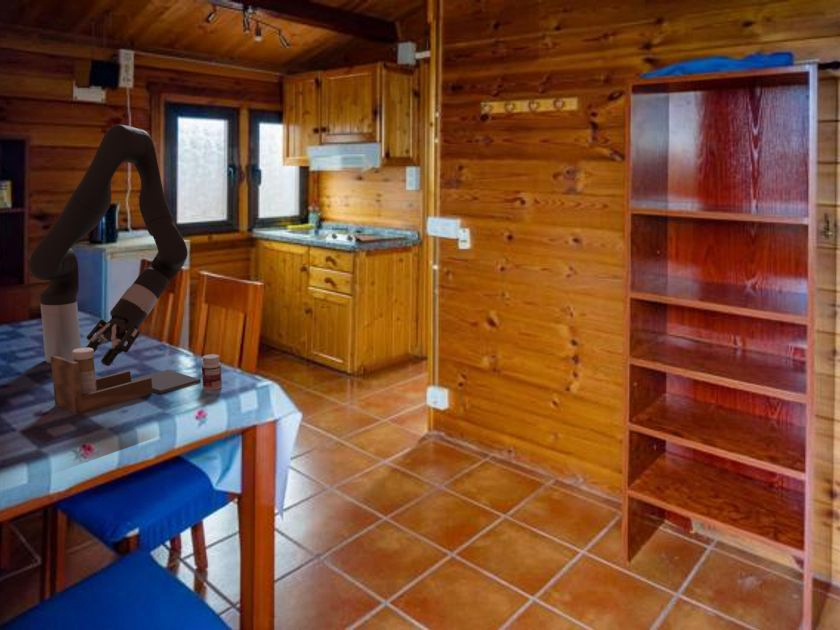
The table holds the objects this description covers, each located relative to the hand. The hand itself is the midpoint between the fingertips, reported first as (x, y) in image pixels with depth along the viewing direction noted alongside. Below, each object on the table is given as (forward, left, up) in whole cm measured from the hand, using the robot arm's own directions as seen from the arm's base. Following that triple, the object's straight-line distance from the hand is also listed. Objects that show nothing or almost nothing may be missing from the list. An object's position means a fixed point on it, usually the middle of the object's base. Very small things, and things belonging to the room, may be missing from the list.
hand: (94, 361), depth 159 cm
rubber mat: (0, +19, -10) cm, 21 cm away
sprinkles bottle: (0, -2, -10) cm, 11 cm away
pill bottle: (+13, +24, -10) cm, 29 cm away
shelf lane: (0, +2, -10) cm, 10 cm away
